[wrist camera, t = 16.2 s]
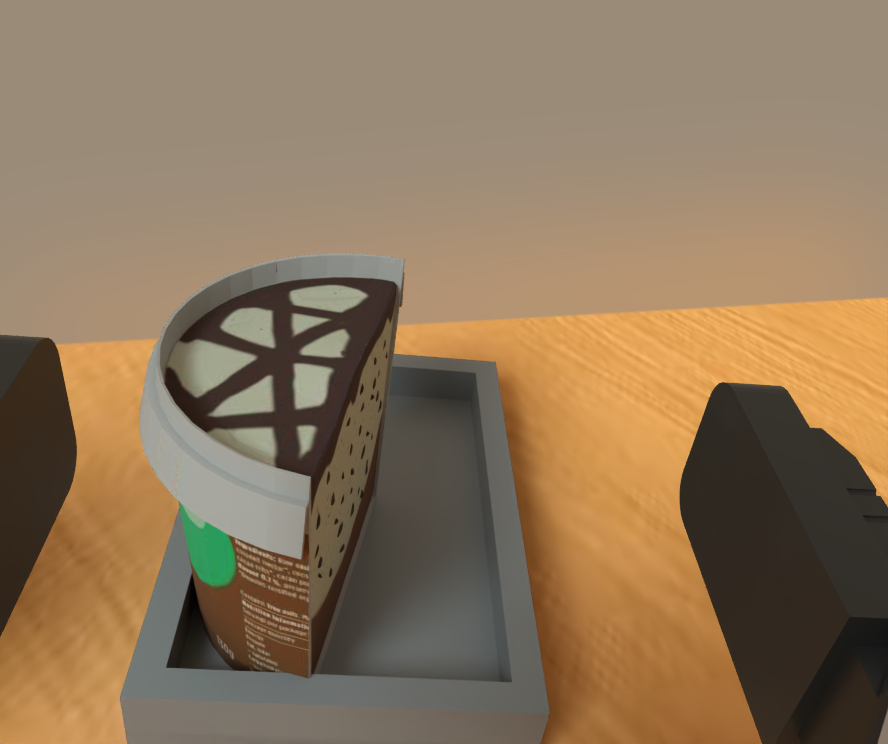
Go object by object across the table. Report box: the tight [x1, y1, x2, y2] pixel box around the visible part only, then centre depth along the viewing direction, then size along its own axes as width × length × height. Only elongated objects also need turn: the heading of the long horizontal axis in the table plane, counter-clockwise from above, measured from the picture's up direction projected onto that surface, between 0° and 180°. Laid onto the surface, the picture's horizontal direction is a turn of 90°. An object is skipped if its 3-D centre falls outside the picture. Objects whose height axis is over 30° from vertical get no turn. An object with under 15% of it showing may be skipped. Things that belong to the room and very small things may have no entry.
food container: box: [139, 254, 405, 679], centre depth 26 cm, size 12×6×10 cm, turn 171°
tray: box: [120, 354, 550, 744], centre depth 32 cm, size 12×18×2 cm, turn 2°
